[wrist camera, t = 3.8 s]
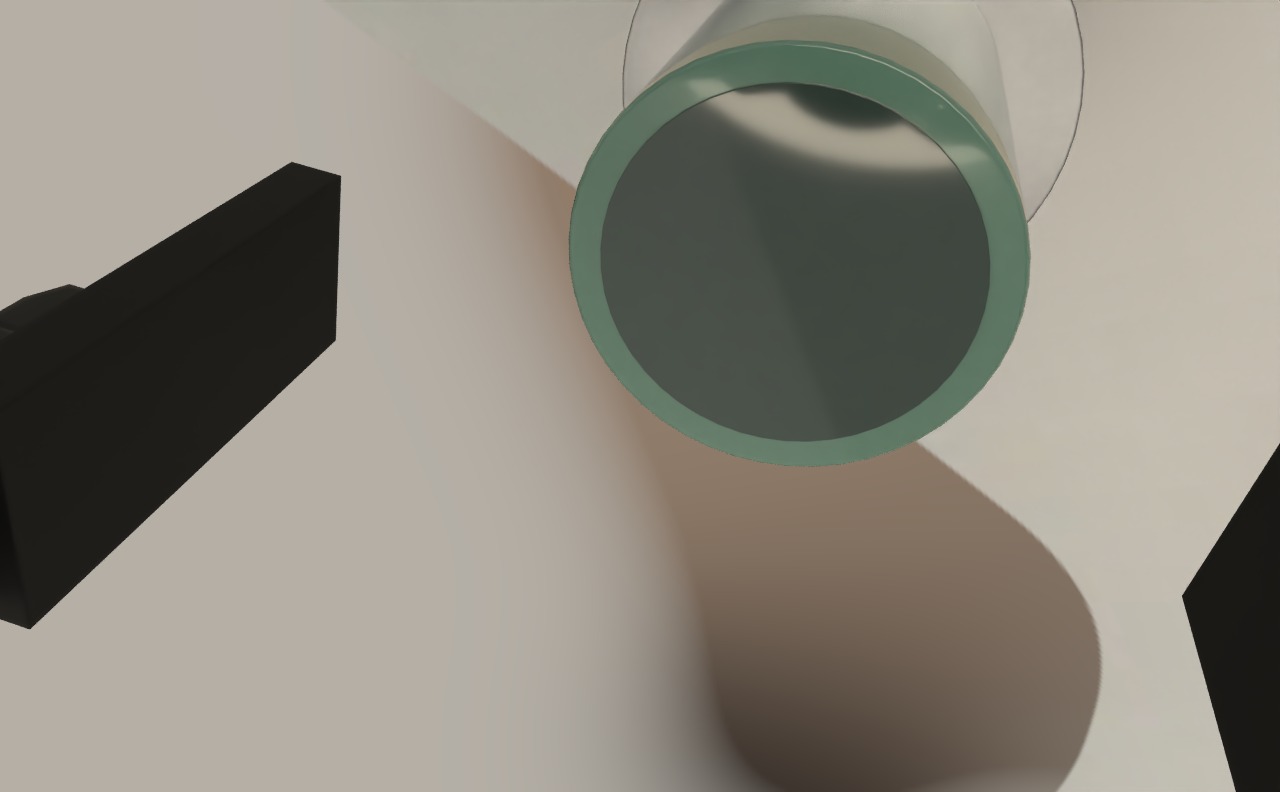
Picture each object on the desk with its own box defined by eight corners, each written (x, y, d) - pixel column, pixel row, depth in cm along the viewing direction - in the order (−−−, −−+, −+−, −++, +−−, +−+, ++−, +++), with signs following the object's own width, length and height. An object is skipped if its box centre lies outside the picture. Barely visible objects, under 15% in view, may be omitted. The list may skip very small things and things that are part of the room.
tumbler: (666, -33, 26) (519, 78, 17) (997, -90, 23) (1026, 4, 15) (715, 258, 29) (615, 474, 20) (1006, 233, 27) (1035, 464, 18)
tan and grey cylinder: (698, -177, 42) (536, -134, 25) (1054, -254, 38) (1135, -259, 21) (745, 146, 48) (640, 350, 31) (1056, 110, 44) (1120, 322, 27)
